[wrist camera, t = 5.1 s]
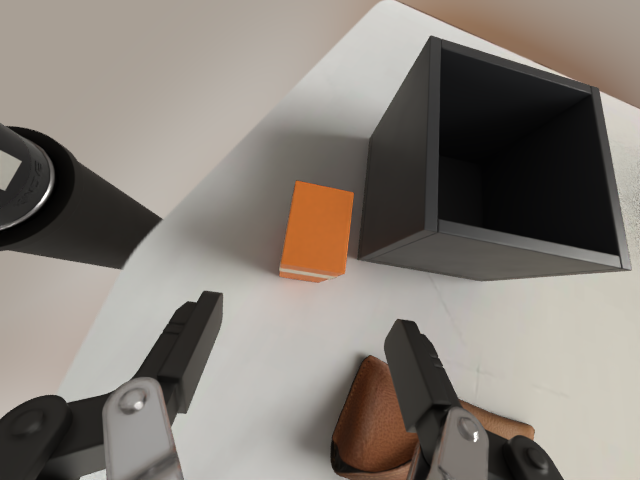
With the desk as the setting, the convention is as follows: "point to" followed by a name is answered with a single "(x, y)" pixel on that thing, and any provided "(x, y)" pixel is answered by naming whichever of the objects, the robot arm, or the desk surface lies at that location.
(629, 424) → the desk surface
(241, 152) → the desk surface
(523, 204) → the dark grey storage bin
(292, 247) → the block
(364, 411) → the sunglasses case
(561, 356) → the desk surface
